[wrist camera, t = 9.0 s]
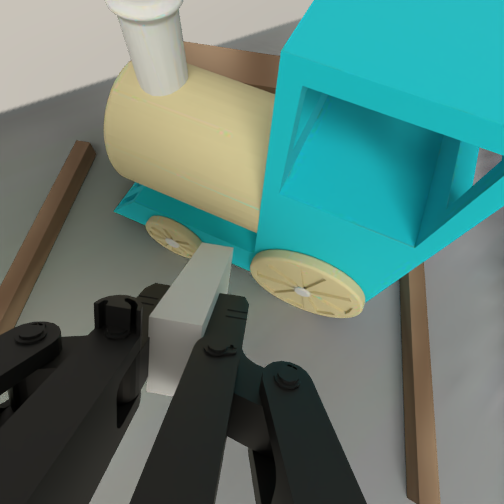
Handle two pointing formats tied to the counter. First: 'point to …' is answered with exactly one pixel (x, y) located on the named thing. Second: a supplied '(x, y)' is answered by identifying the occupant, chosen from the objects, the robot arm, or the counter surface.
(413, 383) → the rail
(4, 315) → the bar
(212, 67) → the buffer stop
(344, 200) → the toy train
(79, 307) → the counter surface
